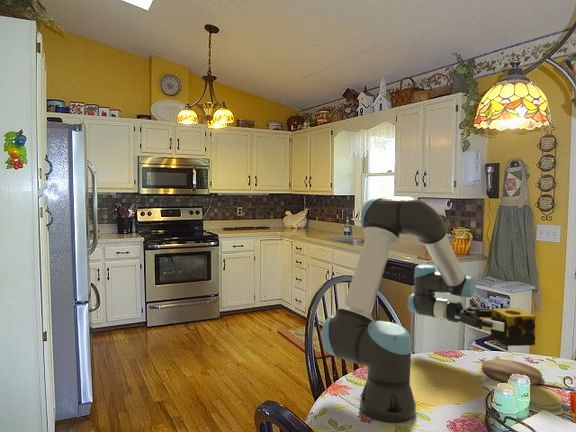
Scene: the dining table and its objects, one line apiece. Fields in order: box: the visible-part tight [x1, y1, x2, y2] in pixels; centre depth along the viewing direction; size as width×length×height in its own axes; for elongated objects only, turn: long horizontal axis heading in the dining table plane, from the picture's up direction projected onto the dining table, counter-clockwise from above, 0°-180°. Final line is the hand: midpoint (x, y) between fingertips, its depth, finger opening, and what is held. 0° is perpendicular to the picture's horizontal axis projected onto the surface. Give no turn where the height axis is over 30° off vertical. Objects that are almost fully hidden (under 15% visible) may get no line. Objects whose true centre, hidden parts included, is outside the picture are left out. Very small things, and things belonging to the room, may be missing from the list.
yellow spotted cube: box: [490, 307, 537, 347], centre depth 144 cm, size 10×10×10 cm
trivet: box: [481, 358, 543, 386], centre depth 145 cm, size 18×18×2 cm
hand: (510, 322), depth 144 cm, fingers closed on yellow spotted cube, 13 cm apart
